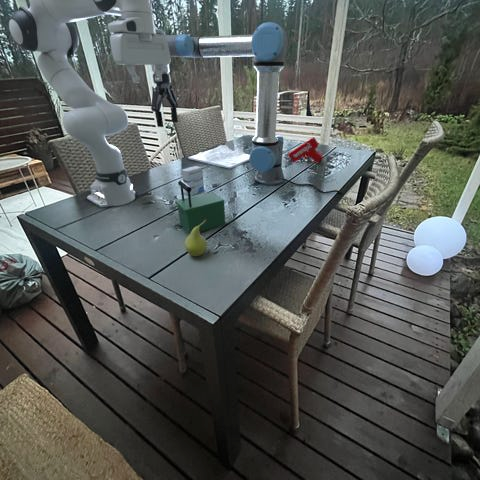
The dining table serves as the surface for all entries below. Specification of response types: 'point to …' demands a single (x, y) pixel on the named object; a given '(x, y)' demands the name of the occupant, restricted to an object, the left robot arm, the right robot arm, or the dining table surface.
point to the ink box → (193, 179)
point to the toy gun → (306, 151)
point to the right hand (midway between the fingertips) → (168, 124)
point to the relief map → (222, 157)
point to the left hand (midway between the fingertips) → (148, 82)
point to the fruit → (196, 242)
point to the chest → (203, 218)
